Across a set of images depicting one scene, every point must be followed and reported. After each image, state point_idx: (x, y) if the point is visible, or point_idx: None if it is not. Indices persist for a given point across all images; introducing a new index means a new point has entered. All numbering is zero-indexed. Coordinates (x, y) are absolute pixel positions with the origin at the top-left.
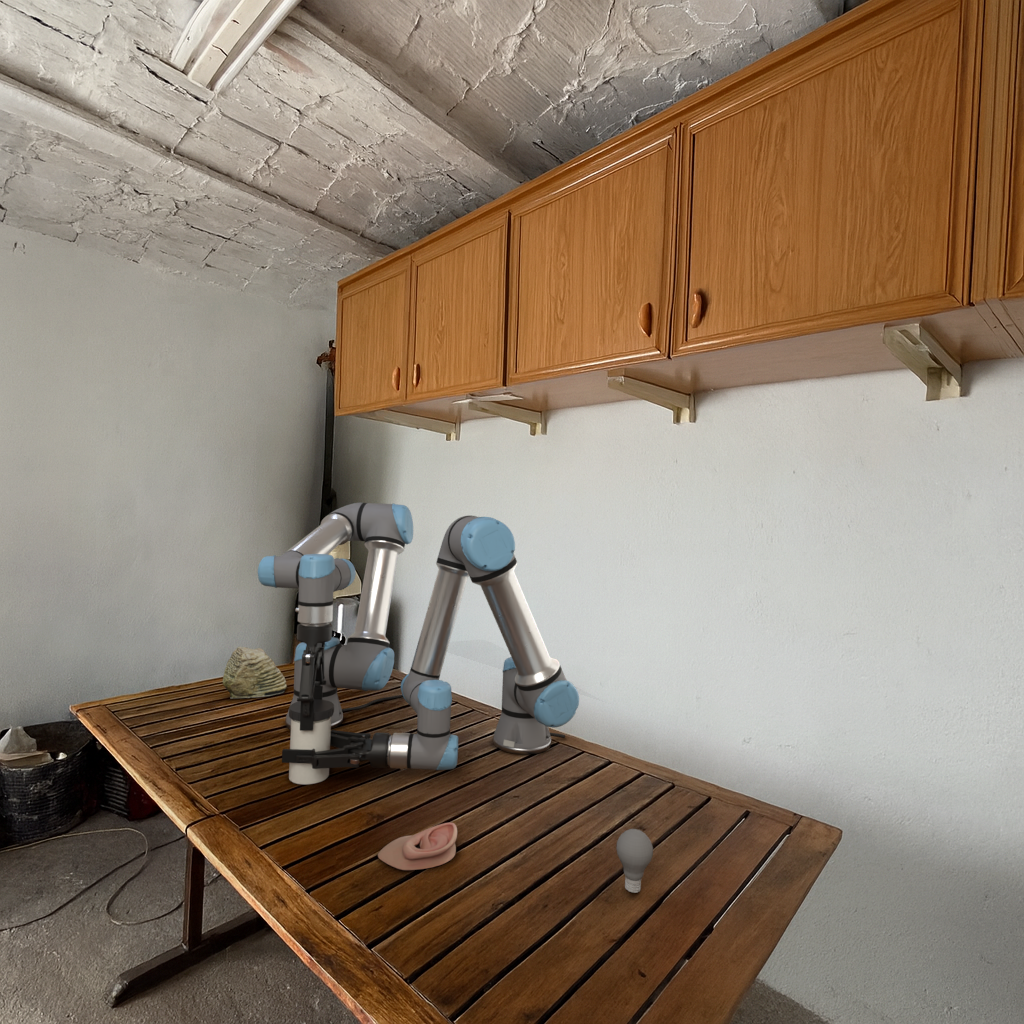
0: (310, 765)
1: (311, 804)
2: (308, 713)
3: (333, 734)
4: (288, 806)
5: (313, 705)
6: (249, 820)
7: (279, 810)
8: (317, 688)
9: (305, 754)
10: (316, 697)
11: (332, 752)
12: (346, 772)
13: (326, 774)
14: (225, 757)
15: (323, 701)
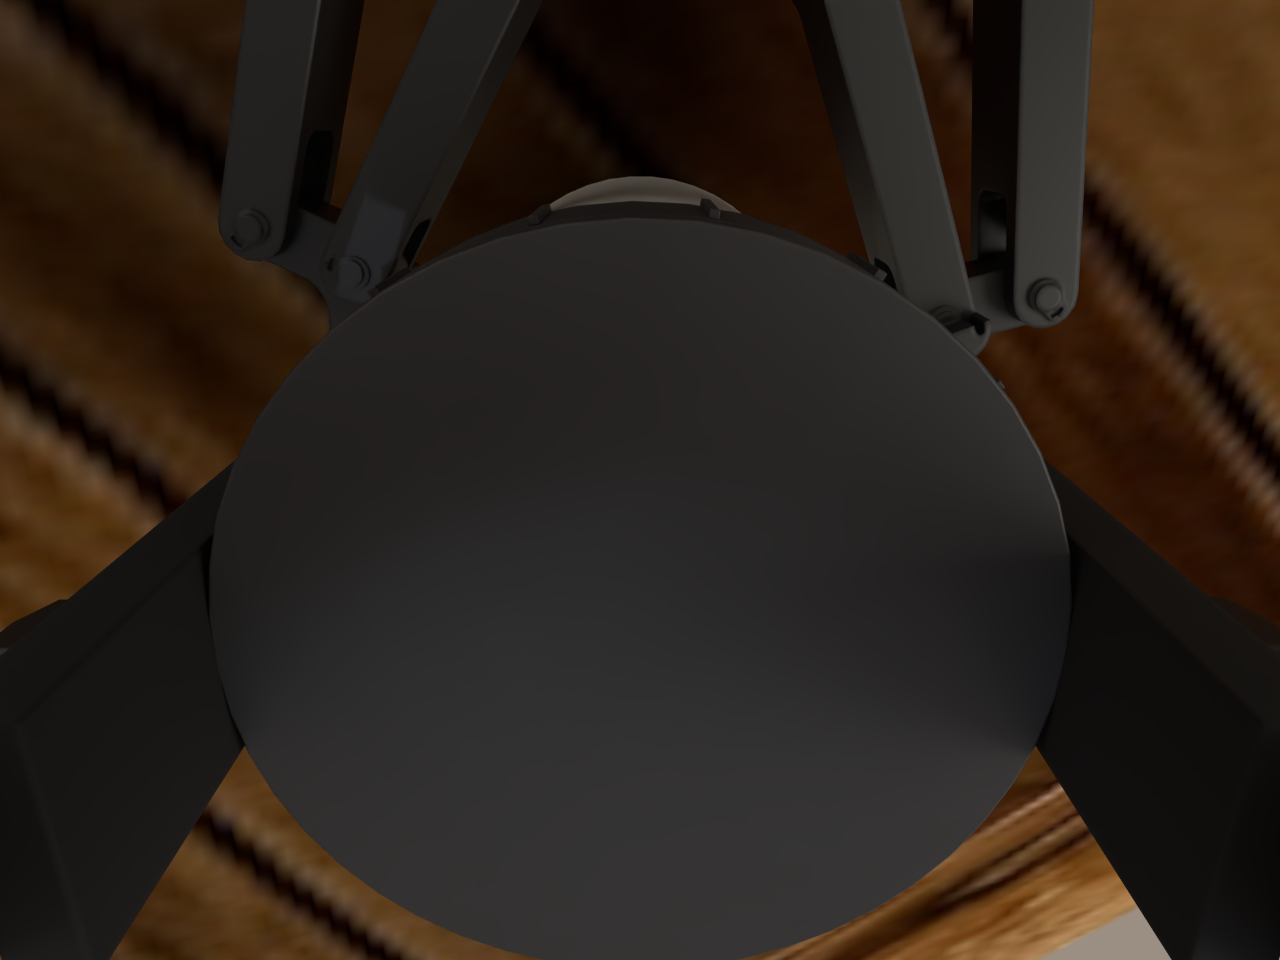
0: None
1: (1143, 224)
2: (1276, 644)
3: (366, 200)
4: (1137, 386)
5: (1271, 651)
6: (1273, 577)
7: (1183, 432)
8: (81, 798)
9: None
10: (192, 671)
11: (926, 116)
12: (565, 16)
13: (699, 189)
14: (351, 919)
15: (335, 494)
